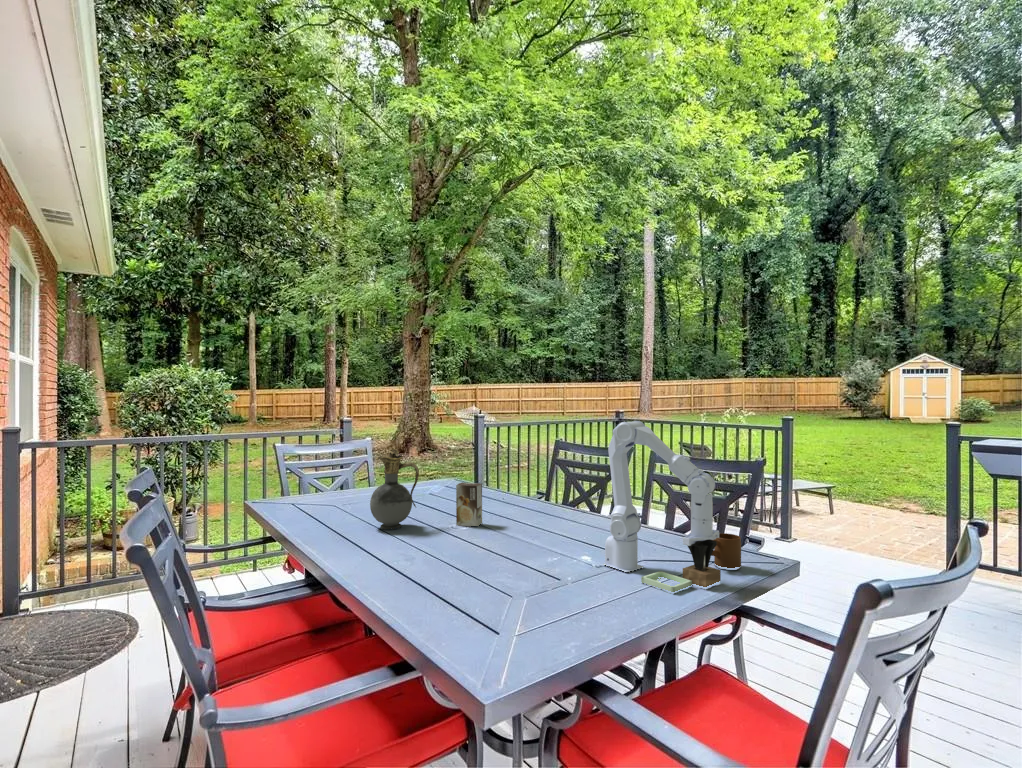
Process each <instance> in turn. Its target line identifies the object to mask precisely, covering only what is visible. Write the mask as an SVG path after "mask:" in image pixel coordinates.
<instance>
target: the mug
mask: <svg viewBox="0 0 1022 768" xmlns="http://www.w3.org/2000/svg"><path fill="white" fill-rule="evenodd" d="M713 541H716V542H717V545H716V546H715V548H714V550H713V552H712V555H711V557H712V556H713V557H714V563H713V564H714V565H715V564H716V565H718V566H721V567H727V568H735V567H740V566H741V567H742V538H741V536H739V535H737V534H734V533H733V534H732V533H726V532H725V533H724V532H723V533H721V532H719V538H716V539H714V540H713Z"/></svg>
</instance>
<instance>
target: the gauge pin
mask: <svg viewBox="0 0 1022 768" xmlns="http://www.w3.org/2000/svg"><path fill="white" fill-rule="evenodd" d="M698 570H699V571H702V572H704V571H705V557H704V566H703V569H698Z"/></svg>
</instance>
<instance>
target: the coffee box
mask: <svg viewBox="0 0 1022 768" xmlns="http://www.w3.org/2000/svg"><path fill="white" fill-rule="evenodd" d="M455 489H456V490H455V491H456V492H455V493H456V495H455V496H456V497H455V501H456V504H455V505H456V508H455V509H456V510H455V512H456V513H455V514H456V515H455V516H456V520H455V521H456V526H457V525H458V526H459V527H460V526H461V527H471V526H478V527H480V526H481V525H482V524H483V483H479V482H459V483H457V484H456V485H455ZM481 523H482V524H481ZM480 524H481V525H480ZM479 525H480V526H479Z"/></svg>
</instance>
